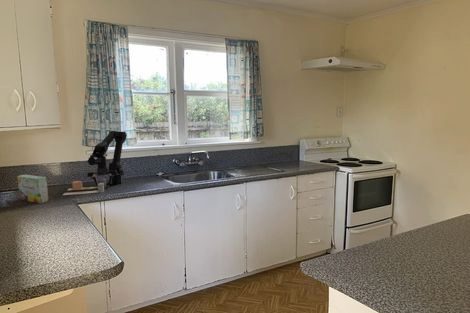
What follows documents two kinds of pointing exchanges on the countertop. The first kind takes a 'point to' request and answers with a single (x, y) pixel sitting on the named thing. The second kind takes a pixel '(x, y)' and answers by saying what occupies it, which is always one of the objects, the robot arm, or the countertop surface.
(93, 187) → the beige rectangular bar
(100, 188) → the white long bar
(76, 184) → the terracotta block
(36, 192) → the snack box
